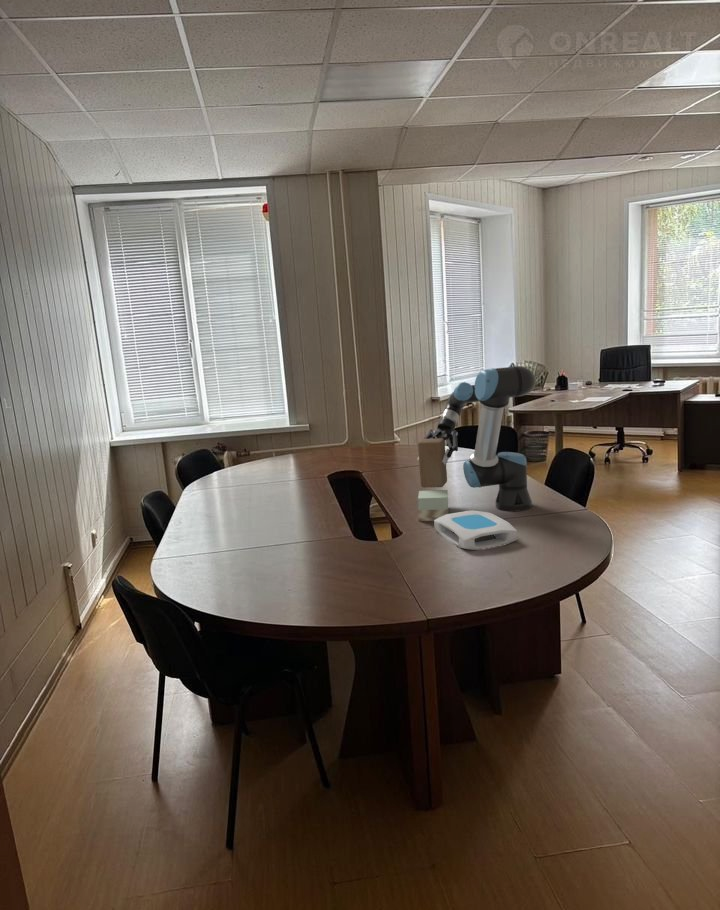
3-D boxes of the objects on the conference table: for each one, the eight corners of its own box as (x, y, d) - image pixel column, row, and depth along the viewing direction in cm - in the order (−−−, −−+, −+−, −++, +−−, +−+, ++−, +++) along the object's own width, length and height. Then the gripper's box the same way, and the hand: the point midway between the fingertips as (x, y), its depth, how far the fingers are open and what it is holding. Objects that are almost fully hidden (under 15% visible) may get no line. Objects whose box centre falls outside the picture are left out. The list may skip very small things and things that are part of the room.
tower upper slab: (448, 501, 282) (447, 489, 281) (448, 509, 270) (447, 497, 269) (419, 502, 284) (419, 491, 283) (418, 510, 272) (417, 498, 271)
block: (443, 487, 284) (440, 442, 281) (420, 487, 288) (417, 442, 284) (447, 482, 294) (444, 437, 290) (425, 482, 297) (422, 438, 293)
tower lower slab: (448, 512, 283) (447, 501, 282) (448, 521, 271) (447, 509, 270) (420, 513, 285) (419, 502, 284) (418, 521, 273) (418, 510, 272)
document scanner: (465, 553, 233) (464, 536, 232) (433, 531, 259) (433, 516, 258) (518, 543, 238) (518, 526, 237) (482, 523, 265) (482, 507, 264)
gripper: (475, 427, 291) (459, 468, 283) (428, 426, 307) (412, 465, 298) (468, 417, 286) (451, 459, 278) (421, 416, 302) (404, 455, 293)
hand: (431, 462), depth 288 cm, fingers closed on block, 12 cm apart
